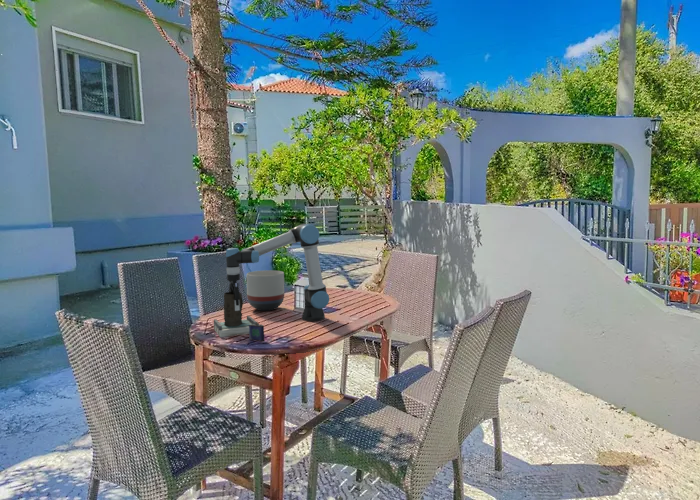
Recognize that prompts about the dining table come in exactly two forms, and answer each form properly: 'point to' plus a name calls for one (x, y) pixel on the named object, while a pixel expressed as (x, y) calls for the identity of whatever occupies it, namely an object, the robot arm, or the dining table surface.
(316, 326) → the dining table surface
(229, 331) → the tray
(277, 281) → the planter
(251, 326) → the flask
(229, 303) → the beer stein
